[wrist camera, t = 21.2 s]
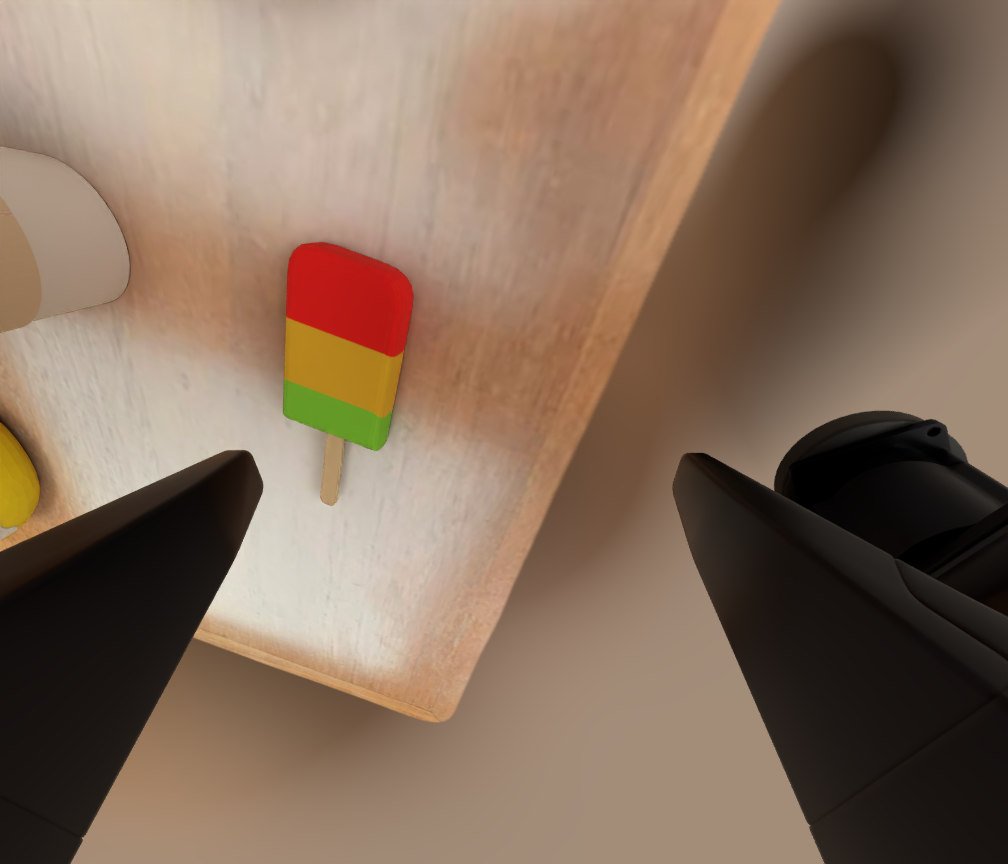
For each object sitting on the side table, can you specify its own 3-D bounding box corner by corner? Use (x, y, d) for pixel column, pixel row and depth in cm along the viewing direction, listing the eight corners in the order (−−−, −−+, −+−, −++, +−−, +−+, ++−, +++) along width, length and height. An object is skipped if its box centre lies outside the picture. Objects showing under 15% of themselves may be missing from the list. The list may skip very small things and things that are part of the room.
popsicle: (422, 274, 18) (406, 279, 16) (376, 509, 26) (361, 529, 24) (310, 232, 18) (282, 233, 16) (297, 479, 26) (276, 496, 24)
